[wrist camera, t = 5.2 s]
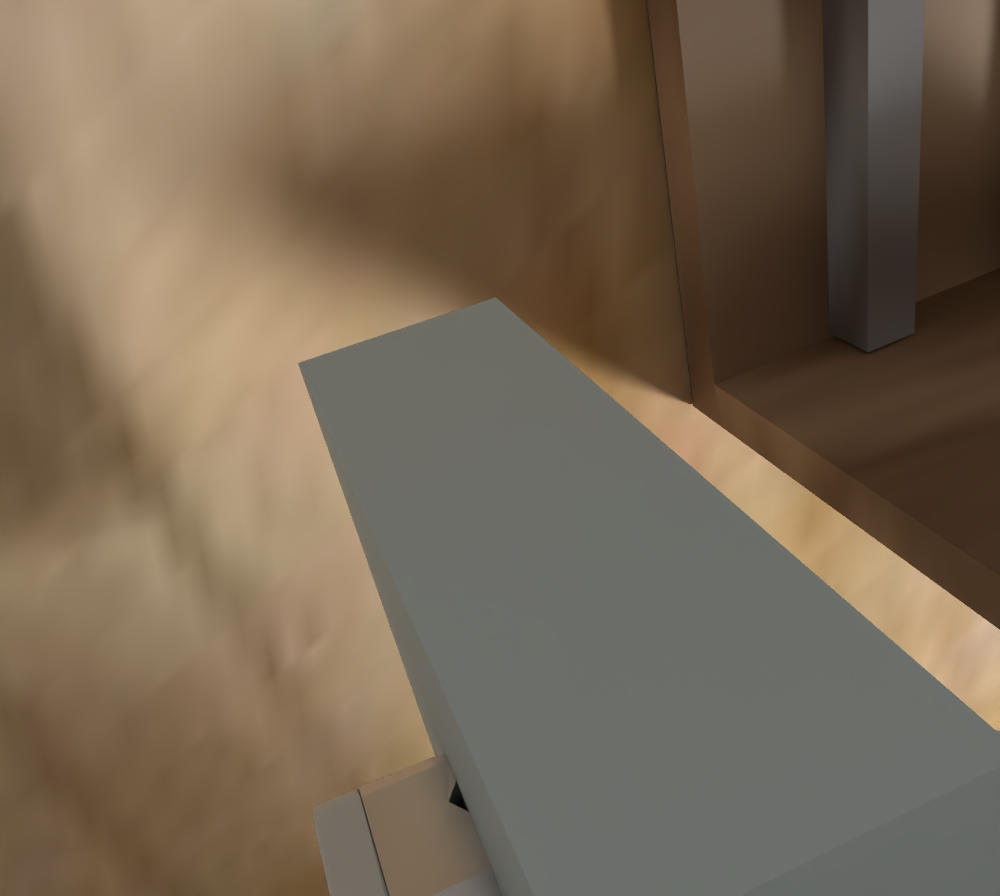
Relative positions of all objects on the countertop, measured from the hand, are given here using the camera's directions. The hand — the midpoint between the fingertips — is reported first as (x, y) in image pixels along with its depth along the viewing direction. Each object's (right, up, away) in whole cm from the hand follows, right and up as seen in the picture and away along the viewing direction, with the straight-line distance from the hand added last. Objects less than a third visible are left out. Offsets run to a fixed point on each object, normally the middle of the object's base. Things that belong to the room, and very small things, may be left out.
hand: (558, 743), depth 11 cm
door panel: (-1, +1, +3) cm, 3 cm away
